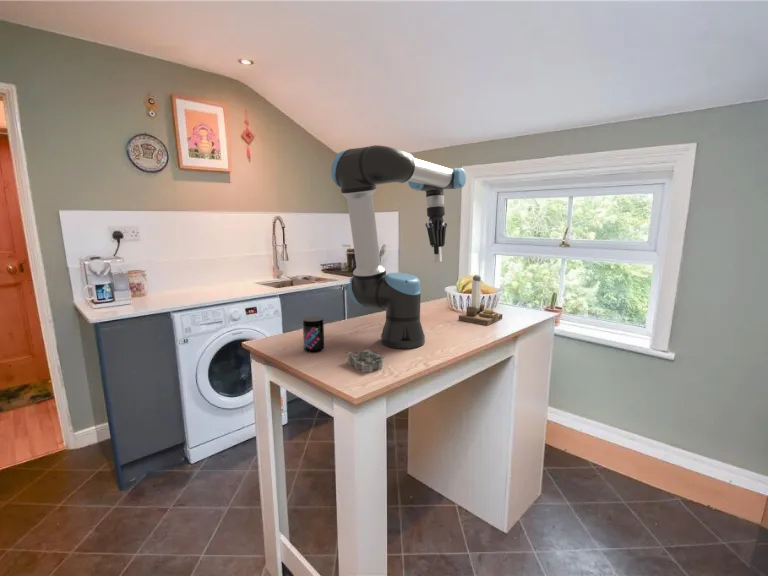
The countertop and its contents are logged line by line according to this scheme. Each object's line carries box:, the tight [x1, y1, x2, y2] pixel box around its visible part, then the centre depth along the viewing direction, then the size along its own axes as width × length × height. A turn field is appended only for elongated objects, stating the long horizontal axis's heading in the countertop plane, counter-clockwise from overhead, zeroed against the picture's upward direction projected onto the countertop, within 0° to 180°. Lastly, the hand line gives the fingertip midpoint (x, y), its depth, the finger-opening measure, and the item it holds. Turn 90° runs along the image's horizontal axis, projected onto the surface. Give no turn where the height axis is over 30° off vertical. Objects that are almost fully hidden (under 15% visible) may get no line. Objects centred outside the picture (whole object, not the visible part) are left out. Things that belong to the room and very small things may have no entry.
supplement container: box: [302, 315, 326, 354], centre depth 121 cm, size 7×7×10 cm
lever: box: [470, 274, 482, 313], centre depth 159 cm, size 5×3×16 cm
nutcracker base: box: [458, 303, 503, 326], centre depth 159 cm, size 14×13×6 cm
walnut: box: [484, 307, 494, 315], centre depth 156 cm, size 4×4×4 cm
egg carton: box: [345, 349, 385, 373], centre depth 109 cm, size 11×8×4 cm
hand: (438, 261), depth 163 cm, fingers closed
